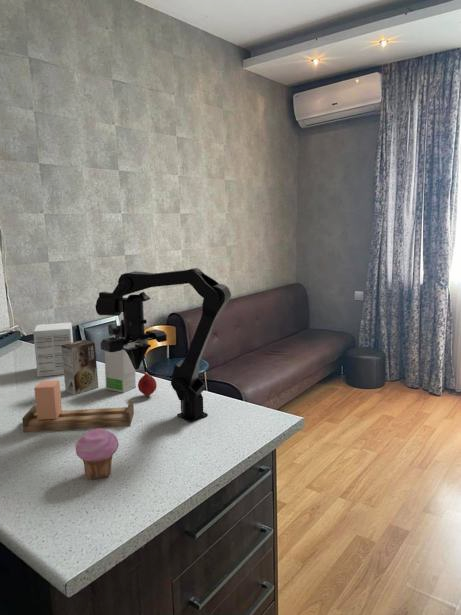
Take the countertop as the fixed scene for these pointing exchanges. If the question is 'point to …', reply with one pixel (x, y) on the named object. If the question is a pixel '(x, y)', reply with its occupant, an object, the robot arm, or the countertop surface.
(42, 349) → the supplement box
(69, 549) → the countertop surface
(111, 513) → the countertop surface
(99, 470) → the cupcake
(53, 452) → the countertop surface
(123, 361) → the skincare box
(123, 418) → the wooden slide track
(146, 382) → the onion
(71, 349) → the coffee box
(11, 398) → the countertop surface
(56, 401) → the block
